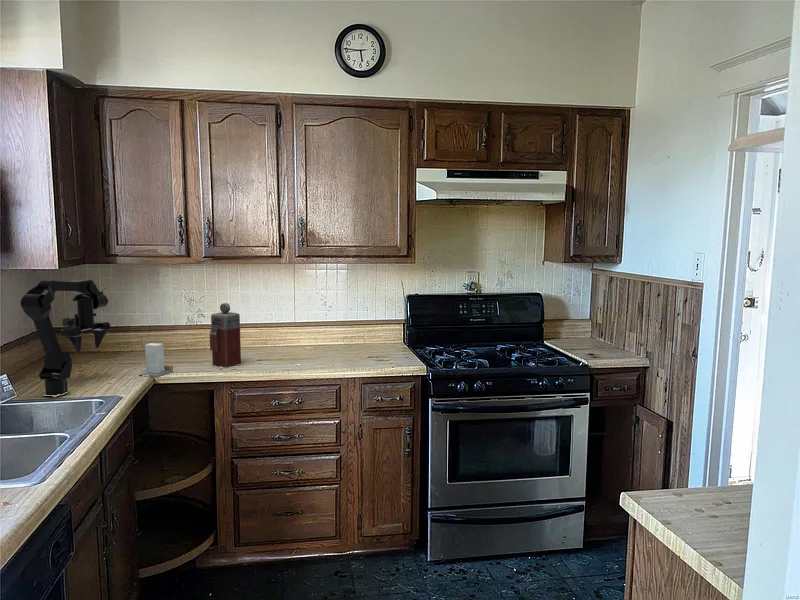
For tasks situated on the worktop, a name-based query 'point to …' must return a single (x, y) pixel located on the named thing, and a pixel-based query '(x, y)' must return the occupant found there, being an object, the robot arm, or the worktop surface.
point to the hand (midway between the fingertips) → (87, 350)
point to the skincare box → (154, 358)
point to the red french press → (225, 337)
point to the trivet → (167, 370)
